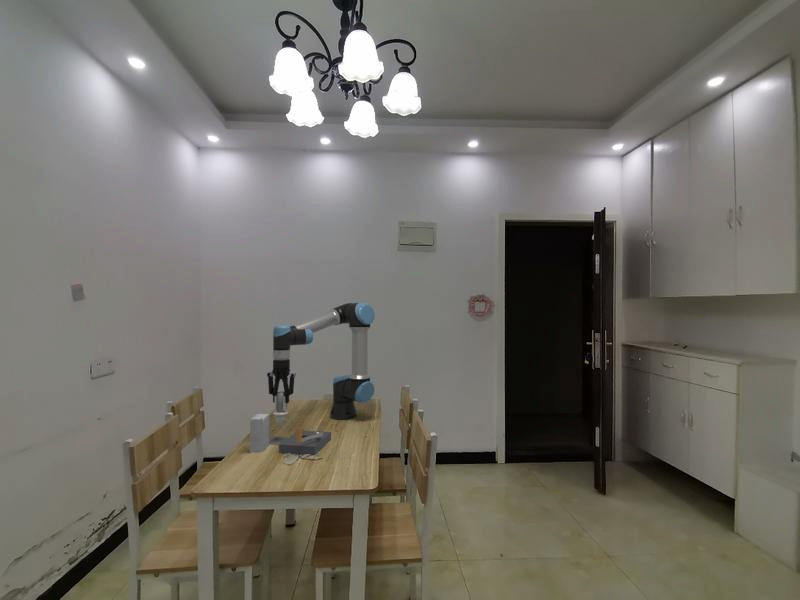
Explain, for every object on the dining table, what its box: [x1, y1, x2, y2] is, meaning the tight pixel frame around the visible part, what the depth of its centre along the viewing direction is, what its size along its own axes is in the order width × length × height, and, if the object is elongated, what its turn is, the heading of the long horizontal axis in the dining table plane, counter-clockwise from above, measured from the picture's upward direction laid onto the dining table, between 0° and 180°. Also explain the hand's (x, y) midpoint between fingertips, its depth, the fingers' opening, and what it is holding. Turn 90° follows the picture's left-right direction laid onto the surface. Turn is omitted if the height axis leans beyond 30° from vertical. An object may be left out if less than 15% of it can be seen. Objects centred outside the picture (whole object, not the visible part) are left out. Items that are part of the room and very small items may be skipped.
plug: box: [272, 390, 290, 425], centre depth 183 cm, size 7×7×14 cm
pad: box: [269, 436, 288, 446], centre depth 183 cm, size 10×10×1 cm
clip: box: [295, 426, 323, 443], centre depth 171 cm, size 5×14×6 cm, turn 138°
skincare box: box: [249, 413, 270, 454], centre depth 173 cm, size 8×6×15 cm
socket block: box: [278, 429, 332, 456], centre depth 177 cm, size 20×16×6 cm
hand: (280, 409), depth 183 cm, fingers closed on plug, 3 cm apart
